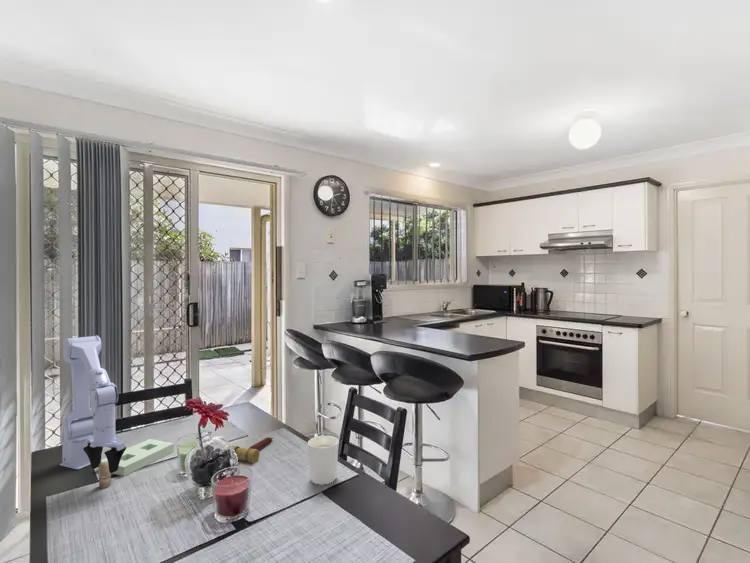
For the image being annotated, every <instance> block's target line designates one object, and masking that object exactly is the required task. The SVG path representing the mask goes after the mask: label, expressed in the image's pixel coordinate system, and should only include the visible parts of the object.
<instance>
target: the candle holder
mask: <svg viewBox="0 0 750 563" xmlns="http://www.w3.org/2000/svg"><path fill="white" fill-rule="evenodd" d="M339 444H340V442H339V439H338V438H337V437H335V436H332V435H318V436H315V437H312V438H310V439H309V440H308V441H307V448H308V462H309V464H308V466H309V478H310V482H311V483H313V484H315V485H318V484H319V485H320V486H324V484H326V485H330V484H332V483H334V482H335V481H336V480H337V475H338V474H337V473H338V460H339V459H338V457H339V456H338V455H339ZM335 479H336V480H335ZM334 480H335V481H334ZM333 481H334V482H333ZM331 482H332V483H331ZM329 483H330V484H329ZM319 485H318V486H319Z"/></svg>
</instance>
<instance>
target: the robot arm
mask: <svg viewBox="0 0 750 563" xmlns="http://www.w3.org/2000/svg"><path fill="white" fill-rule="evenodd" d="M102 345H103V344H102V338H101V337H100V336H99V335H97V334H96V335H92V336H80V337H73V338H72V337H71V338H69V337H68V338H65V339H64V341H63V344H62V350H63V351H62V352H63V356H62V357H63V360H64V363H69V364H70V369H71V391H72V394H71V395H72V410H71V411H70V412H69V413H68V414H67V415H65V416H64V418H63V420H62V421H63V424H62V436H63V439H64V441H63V444H62V448H61V450H62V451H61V452H62V455H61V456H62V462H61V463H59V465H60V466H61V467H64V468H65V467H66V468H69V469H73V470H78V471H79V470H81V469H83V468H86V467H88V466H91V469H92V470H95V469H98V467H99V464H100V463H101V460H102V453H103V450H104V449H103V448H104V447H105V448H108V449H109V448H110V449H109V450H106V451H104V455H105V458H107V460H108V465H109V472H110V473H111V474H112V473H113V472H115V471H117V470H118V466H119V463H120V460H121V457H122V455H123V453H124V451H125V450H126V449H127V446H126V445H125V441H122V440H121V439H119V438H118V437H116V404H117V403H118V402H119V390H118V386H117V385H116V384H115V383H114V382H111V380H110V378H109V374H108V372H107V370H106V369H104V368H101V362H100V358H99V355H100V352H101V351H102V348H103V346H102Z"/></svg>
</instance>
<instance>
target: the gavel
mask: <svg viewBox="0 0 750 563" xmlns="http://www.w3.org/2000/svg"><path fill="white" fill-rule="evenodd" d="M272 439H273V440H274V437H273V436H271V437H269V436H267V437H266V438H265V437H264V439H262V440H260V441H258V442H257V443H254V444H252V445H251V446H249V448H243V447H240V446H238V445H237V446H236V445H232V446H231V447H233V449H234V450H235V452H236V454H237V457H238V459H239V460H238V461H243V462H248V463H249V464H255V463H256V462H258V461H259V459H260V450H261V449H264V448H265V447H267V446H268V445H270V444H271V443H272V441H273V440H272ZM270 442H271V443H270ZM269 443H270V444H269Z"/></svg>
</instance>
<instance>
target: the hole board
mask: <svg viewBox="0 0 750 563" xmlns="http://www.w3.org/2000/svg"><path fill="white" fill-rule="evenodd" d="M174 452H175V444H174V443H173V442H168V441H163V440H157V439H153V438H148V439H146V440H144V441H142V442H139V443H137V444H135V445H132V446H130V447H128V448H127V447H126V450H125V451H124V453H123V455H122V457H121V460H120V463H119V466H118V470H117V471H115V472H113V473H111V475H112V474H113V475H116V476H121V477H126V476H128V475H130V474H132V473H134V472H136V471H138V470H140V469H142V468H144V467H146V466H147V465H150V464H152V463H154V462H157V461H158V460H160V459H163V458H164V457H165V456H168V455H170V454H172V453H174ZM107 461H108V460H107V457H105V458H103V459H102V458H101V463H102V462H107ZM97 471H99V467H97Z"/></svg>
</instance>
